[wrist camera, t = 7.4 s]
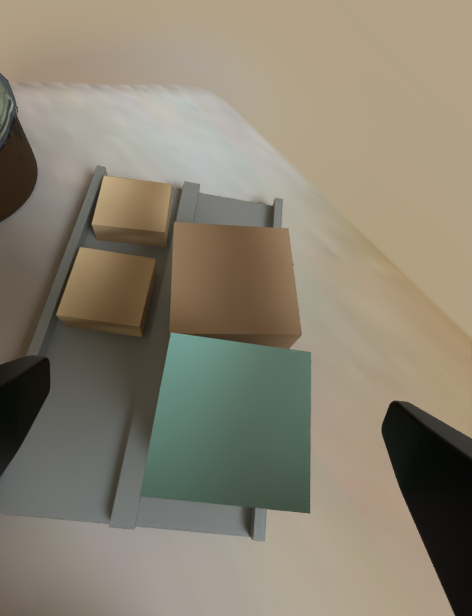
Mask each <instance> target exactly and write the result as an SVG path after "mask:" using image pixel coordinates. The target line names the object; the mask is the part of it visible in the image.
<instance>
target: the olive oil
mask: <svg viewBox="0 0 472 616" xmlns="http://www.w3.org/2000/svg"><path fill="white" fill-rule="evenodd" d="M16 106H17V104H16V101H15V97H14V95H13V92H12V89H11V87H10V84H9V82H8V80H7V79H6V78H5V77H4V76H3V75H2V74H1V73H0V221H2V220H4V219H5V218H7V217H9V216H10V215H11V214H13V213H14V212H15V211H16V210H18V209H19V208H20V207H21V206H22V205H23V204H24V203H25V201H26V200H27V199H28V197H29V196H30V194H31V193H32V191H33V189H34V187H35V184H36V180H37V164H36V160H35V157H34V154H33V152H32V149H31V147H30V145H29V142H28V140H27V138H26V135H25V133H24V131H23V129H22V126H21V124H20V122H19V120H18V117H17V115H16V113H17V114H18V107H16ZM16 108H17V109H16ZM16 110H17V112H16Z"/></svg>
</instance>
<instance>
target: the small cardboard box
mask: <svg viewBox="0 0 472 616" xmlns="http://www.w3.org/2000/svg"><path fill="white" fill-rule="evenodd" d="M171 208H172V184H166V183H158V182H150V181H142V180H134V179H126V178H118V177H110V176H104V178H103V181H102V185H101V189H100V193H99V197H98V201H97V205H96V209H95V213H94V217H93V221H92V227H93V229H94V232H95V235H96V237H97V240H100V241H109V242H119V243H129V244H138V245H148V246H157V247H166V244H167V237H168V229H169V222H170V215H171Z"/></svg>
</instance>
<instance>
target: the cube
mask: <svg viewBox="0 0 472 616" xmlns="http://www.w3.org/2000/svg"><path fill="white" fill-rule="evenodd" d="M171 333H178V334H185V335H192V336H199V337H207V338H214V339H221V340H228V341H235V342H242V343H249V344H256V345H263V346H270V347H277V348H284V349H289V348H290V347H291V346H292V345H293V344H294V343H295V342H296V341H297V339H298V338H299V337H300V336H301V335H302V333H301V325H300V317H299V309H298V301H297V293H296V285H295V277H294V269H293V261H292V254H291V246H290V238H289V230H288V229H287V228H270V227H252V226H235V225H217V224H200V223H182V222H174V232H173V256H172V279H171V303H170V327H169V336H170V335H171Z"/></svg>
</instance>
